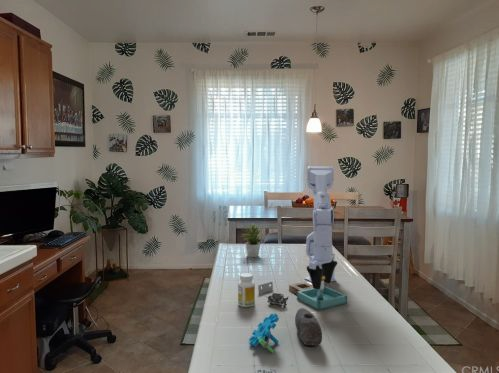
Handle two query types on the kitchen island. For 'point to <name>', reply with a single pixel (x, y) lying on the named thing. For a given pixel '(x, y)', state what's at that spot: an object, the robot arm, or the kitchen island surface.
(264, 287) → the bracket
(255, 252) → the house plant
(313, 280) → the robot arm
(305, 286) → the socket
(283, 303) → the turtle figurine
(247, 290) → the supplement bottle
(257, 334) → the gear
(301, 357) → the kitchen island surface
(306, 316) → the perforated stone tool
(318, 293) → the pin
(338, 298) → the tray
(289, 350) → the kitchen island surface
